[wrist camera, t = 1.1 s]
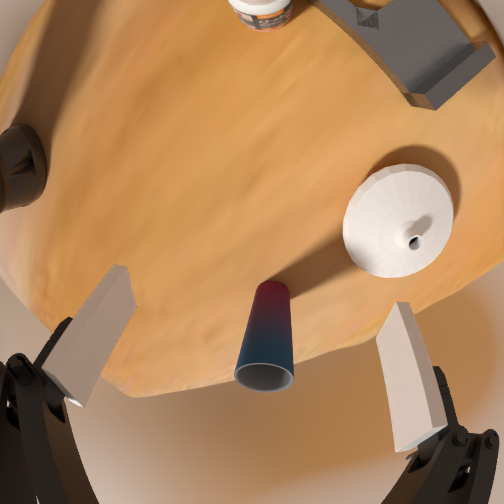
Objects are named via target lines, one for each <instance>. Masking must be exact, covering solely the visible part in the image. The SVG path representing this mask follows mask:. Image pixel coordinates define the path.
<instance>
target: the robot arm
mask: <svg viewBox="0 0 504 504" xmlns="http://www.w3.org/2000/svg"><path fill="white" fill-rule="evenodd" d="M45 182H46V161H45V155H44V151H43V148H42V145H41V142H40V140H39V138H38V136H37V135H36V133H35V132H34V131H33V129H31V128H30V127H29V126H27V125H25V124H18V125H15V126H12V127H10V128H8V129H6V130H5V131H4V132H3V133H2V134H1V135H0V214H1V213H2V212H3V211H7V210H10V209H14V208H18V207H24V206H27V205H30V204H31V203H32V202H34V201H35V200H37V199H38V198H39V197H40V196H41V194H42V192H43V190H44V187H45ZM136 308H137V305H136V301H135V297H134V294H133V290H132V286H131V282H130V278H129V273H128V269H127V267H126V266H121V265H115V264H114V265H113V267H112V268H111V269H110V270H109V272H108V273H107V274H106V275H105V277H104V278H103V279H102V281H101V282H100V283H99V284H98V286H97V287H96V288H95V290H94V291H93V292H92V294H91V295H90V296H89V298H88V299H87V300H86V302H85V303H84V304H83V306H82V307H81V308H80V310H79V311H78V313H77V314H76V315H75V317H74V318H71V317H67V318H66V319H65V320H64V321H62V322H61V323H60V324H59V325H58V327H57V328H56V330H55V331H54V333H53V334H52V336H51V337H50V340H48V341H47V343H46V344H45V346H44V348H43V349H42V351H41V352H40V354H39V355H38V357H37V359H36V360H35V362H34V363H33V364H32V363H31V362H30V361H29V360H28V358H27V357H26V356H25V355H24V354H22V353H17V354H14V355H12V356H11V357H10V358H9V359H8V361H7V363H6V366H5V365H4V364H3V363H2V362H1V361H0V504H37V498H38V501H39V504H99V502H98V500H97V498H96V496H95V494H94V492H93V489H92V487H91V485H90V482H89V480H88V477H87V475H86V472H85V469H84V467H83V464H82V461H81V458H80V455H79V452H78V449H77V447H76V443H75V440H74V437H73V433H72V429H71V426H70V422H69V418H68V413H67V409H66V405H65V402H64V400H63V399H64V397H65V396H66V397H67V398H68V399H69V400H70V401H71V402H73V403H75V404H77V405H79V406H81V407H83V408H84V407H85V405H86V403H87V401H88V398H89V396H90V394H91V392H92V390H93V388H94V386H95V384H96V382H97V380H98V378H99V376H100V374H101V372H102V370H103V368H104V366H105V364H106V362H107V360H108V358H109V356H110V355H111V353H112V351H113V349H114V347H115V345H116V343H117V341H118V340H119V338H120V336H121V334H122V332H123V331H124V329H125V327H126V325H127V323H128V322H129V320H130V318H131V316H132V315H133V313H134V311H135V309H136ZM376 341H377V346H378V350H379V355H380V359H381V363H382V368H383V374H384V379H385V383H386V389H387V395H388V400H389V407H390V413H391V420H392V427H393V435H394V443H395V452H400V451H406V450H410V449H412V448H414V447H415V446H417V445H418V450H417V451H416V452H414V453H412V454H410V455H408V456H407V458H406V460H408V459H410V458H411V457H412V459H411V460H410V461H409V464H408V465H407V467H406V469H405V470H404V472H403V473H402V475H401V476H400V478H399V479H398V481H397V483H396V484H395V485H394V487H393V488H392V490H391V491H390V493H389V494H388V495H387V496H386V498H385V499H384V500H383V502H382V503H381V504H488V501H489V498H490V494H491V489H492V485H493V480H494V475H495V470H496V464H497V458H498V450H499V436H498V434H497V432H496V431H494V430H493V429H488V430H487V431H485V432H484V433H482V434H475V433H468V431H467V429H466V428H464V426H461V425H459V424H458V421H457V417H456V413H455V409H454V405H453V402H452V398H451V395H450V391H449V388H448V387H447V385H448V384H447V381H446V378H445V375H444V373H443V372H442V370H441V369H440V367H438V366H432V364H431V361H430V358H429V355H428V352H427V349H426V346H425V344H424V341H423V338H422V335H421V332H420V330H419V327H418V325H417V322H416V319H415V317H414V314H413V312H412V310H411V307H410V305H409V303H407V302H396V303H395V305H394V306H393V308H392V310H391V312H390V314H389V316H388V318H387V320H386V321H385V323H384V325H383V327H382V329H381V330H380V332H379V334H378V336H377V337H376ZM7 401H8V402H9V406H8V407H7ZM468 467H470V470H469V473H468ZM36 495H37V497H36Z"/></svg>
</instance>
